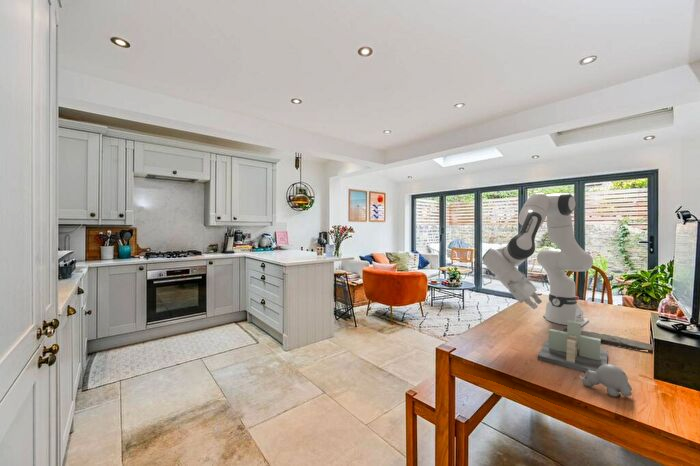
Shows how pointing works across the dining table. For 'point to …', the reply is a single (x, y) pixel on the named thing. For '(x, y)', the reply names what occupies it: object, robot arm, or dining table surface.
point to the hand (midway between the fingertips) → (538, 305)
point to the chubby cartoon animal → (609, 379)
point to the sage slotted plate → (587, 344)
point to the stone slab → (617, 341)
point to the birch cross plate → (571, 356)
